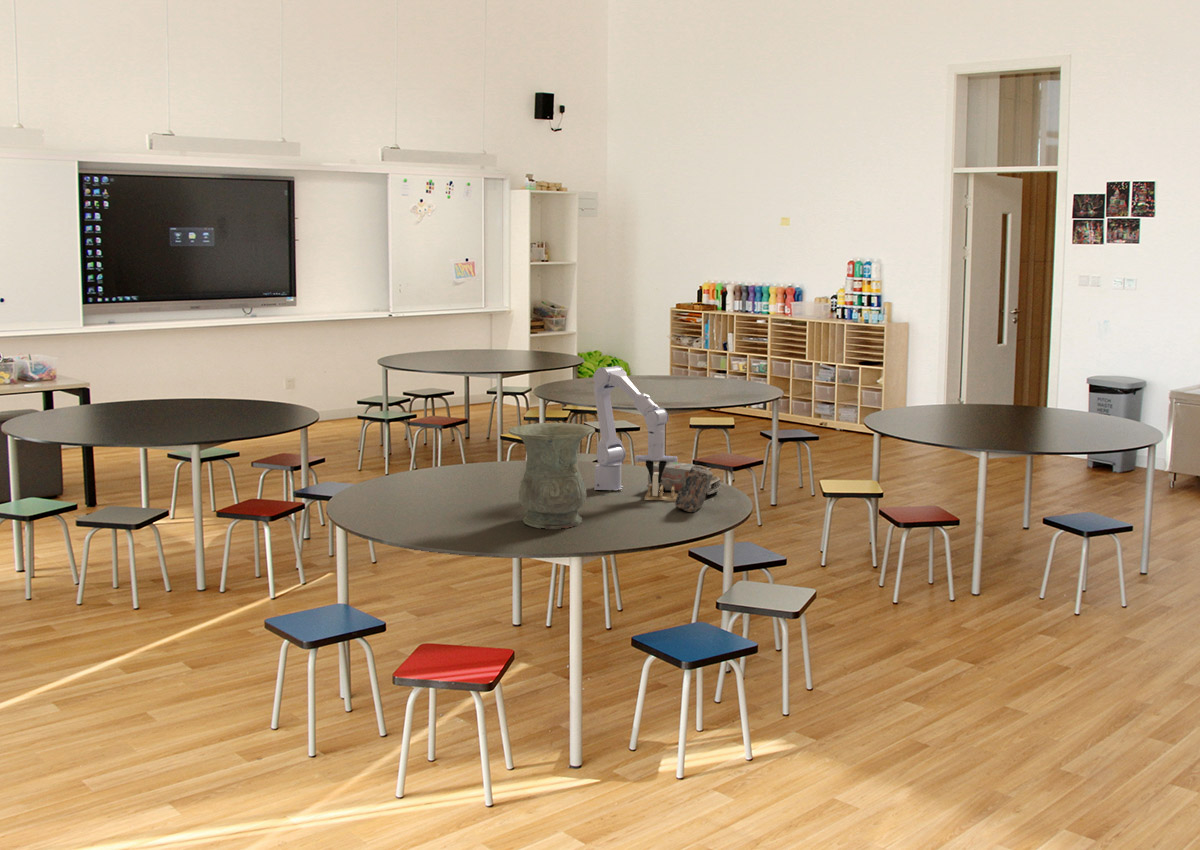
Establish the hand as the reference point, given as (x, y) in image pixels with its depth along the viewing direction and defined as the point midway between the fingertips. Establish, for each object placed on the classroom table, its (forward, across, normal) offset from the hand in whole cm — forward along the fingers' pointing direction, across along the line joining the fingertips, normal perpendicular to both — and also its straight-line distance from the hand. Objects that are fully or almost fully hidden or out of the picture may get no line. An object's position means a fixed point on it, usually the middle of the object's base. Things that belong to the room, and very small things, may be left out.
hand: (655, 482), depth 388 cm
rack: (+6, +2, 0) cm, 6 cm away
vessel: (+6, -30, -39) cm, 50 cm away
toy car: (+6, +9, +10) cm, 15 cm away
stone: (+6, +13, -15) cm, 21 cm away
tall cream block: (+4, 0, 0) cm, 4 cm away
